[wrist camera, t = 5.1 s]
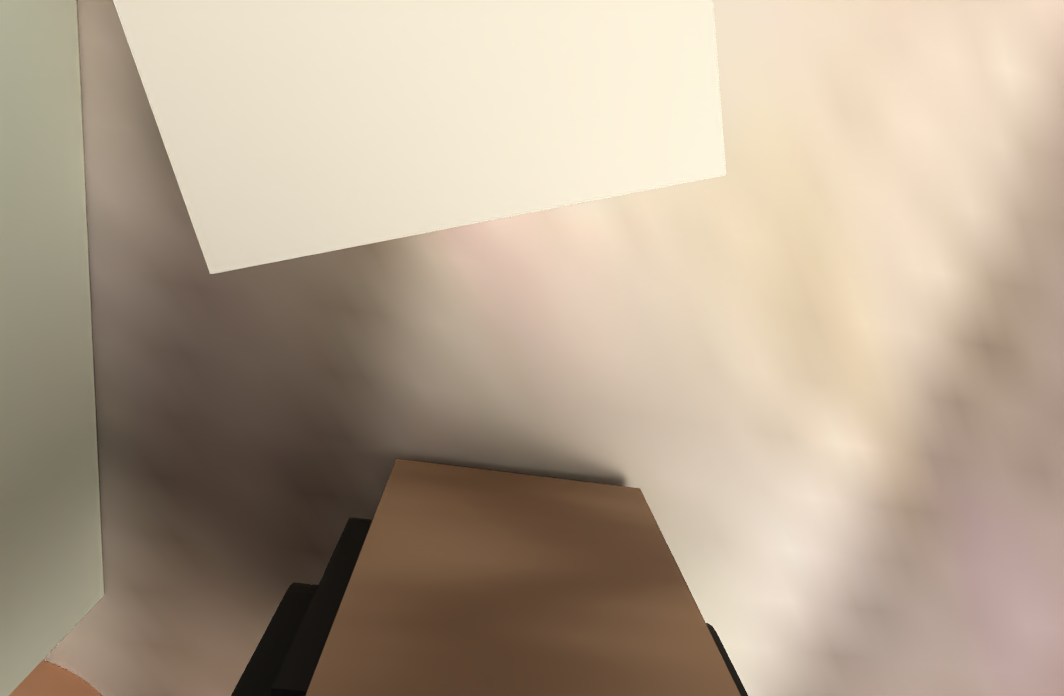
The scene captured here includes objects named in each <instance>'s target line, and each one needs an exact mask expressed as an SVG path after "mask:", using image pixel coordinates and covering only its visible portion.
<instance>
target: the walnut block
mask: <svg viewBox="0 0 1064 696" xmlns="http://www.w3.org/2000/svg"><path fill="white" fill-rule="evenodd" d="M306 696H741V695H740V693H739V691H738V689H737V687H736V685H735V683H734V681H733V678H732V676H731V674H730V672H729V670H728V668H727V666H726V664H725V662H724V660H723V658H722V656H721V654H720V652H719V650H718V648H717V646H716V644H715V642H714V639H713V637H712V635H711V633H710V631H709V629H708V627H707V625H706V623H705V621H704V619H703V617H702V615H701V613H700V611H699V609H698V607H697V605H696V603H695V601H694V598H693V596H692V594H691V592H690V590H689V588H688V586H687V584H686V582H685V580H684V578H683V576H682V574H681V572H680V570H679V568H678V566H677V564H676V562H675V560H674V557H673V555H672V553H671V551H670V549H669V547H668V545H667V543H666V541H665V539H664V537H663V535H662V533H661V531H660V529H659V527H658V525H657V523H656V521H655V519H654V516H653V514H652V512H651V510H650V508H649V506H648V504H647V502H646V500H645V498H644V496H643V494H642V492H641V490H640V489H639V488H631V487H623V486H615V485H607V484H599V483H590V482H582V481H574V480H566V479H558V478H550V477H541V476H533V475H525V474H517V473H509V472H501V471H492V470H484V469H476V468H468V467H460V466H452V465H443V464H435V463H427V462H419V461H411V460H403V459H396V461H395V463H394V466H393V469H392V471H391V474H390V476H389V479H388V482H387V484H386V487H385V489H384V492H383V495H382V497H381V500H380V502H379V505H378V508H377V510H376V513H375V516H374V518H373V521H372V523H371V526H370V529H369V531H368V534H367V536H366V539H365V542H364V544H363V547H362V549H361V552H360V555H359V557H358V560H357V563H356V565H355V568H354V570H353V573H352V576H351V578H350V581H349V583H348V586H347V589H346V591H345V594H344V596H343V599H342V602H341V604H340V607H339V610H338V612H337V615H336V617H335V620H334V623H333V625H332V628H331V630H330V633H329V636H328V638H327V641H326V643H325V646H324V649H323V651H322V654H321V657H320V659H319V662H318V664H317V667H316V670H315V672H314V675H313V677H312V680H311V683H310V685H309V688H308V690H307V693H306Z"/></svg>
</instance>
